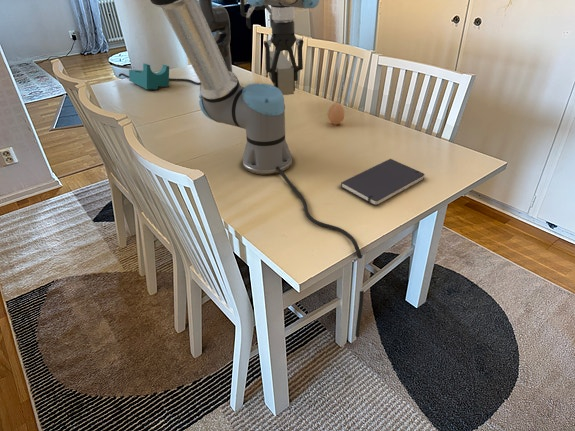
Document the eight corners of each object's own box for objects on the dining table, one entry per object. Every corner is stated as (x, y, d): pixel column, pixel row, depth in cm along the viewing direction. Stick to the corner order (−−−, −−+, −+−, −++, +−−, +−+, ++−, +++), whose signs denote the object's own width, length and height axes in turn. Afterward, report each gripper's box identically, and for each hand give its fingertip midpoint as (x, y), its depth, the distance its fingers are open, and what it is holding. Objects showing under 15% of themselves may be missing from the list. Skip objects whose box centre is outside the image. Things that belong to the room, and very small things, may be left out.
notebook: (389, 163, 124) (340, 187, 113) (390, 158, 123) (341, 182, 112) (424, 178, 116) (375, 206, 105) (425, 174, 115) (376, 201, 104)
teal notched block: (168, 89, 190) (169, 66, 185) (146, 89, 182) (147, 65, 178) (150, 81, 201) (150, 59, 196) (129, 80, 193) (129, 57, 189)
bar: (293, 94, 144) (293, 67, 138) (278, 95, 143) (277, 69, 138) (282, 74, 164) (281, 50, 158) (268, 75, 163) (267, 51, 158)
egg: (332, 128, 146) (333, 107, 141) (324, 122, 150) (325, 101, 146) (346, 125, 148) (348, 104, 143) (338, 119, 152) (339, 99, 148)
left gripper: (275, -24, 149) (277, 24, 159) (236, -21, 148) (241, 27, 157) (278, -22, 143) (280, 27, 153) (238, -20, 142) (243, 30, 151)
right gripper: (307, 16, 136) (307, 85, 150) (253, 20, 134) (258, 89, 147) (313, 20, 130) (312, 91, 144) (256, 24, 128) (260, 96, 141)
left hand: (261, 27), depth 155 cm, fingers open, 8 cm apart
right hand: (284, 90), depth 146 cm, fingers closed on bar, 5 cm apart
